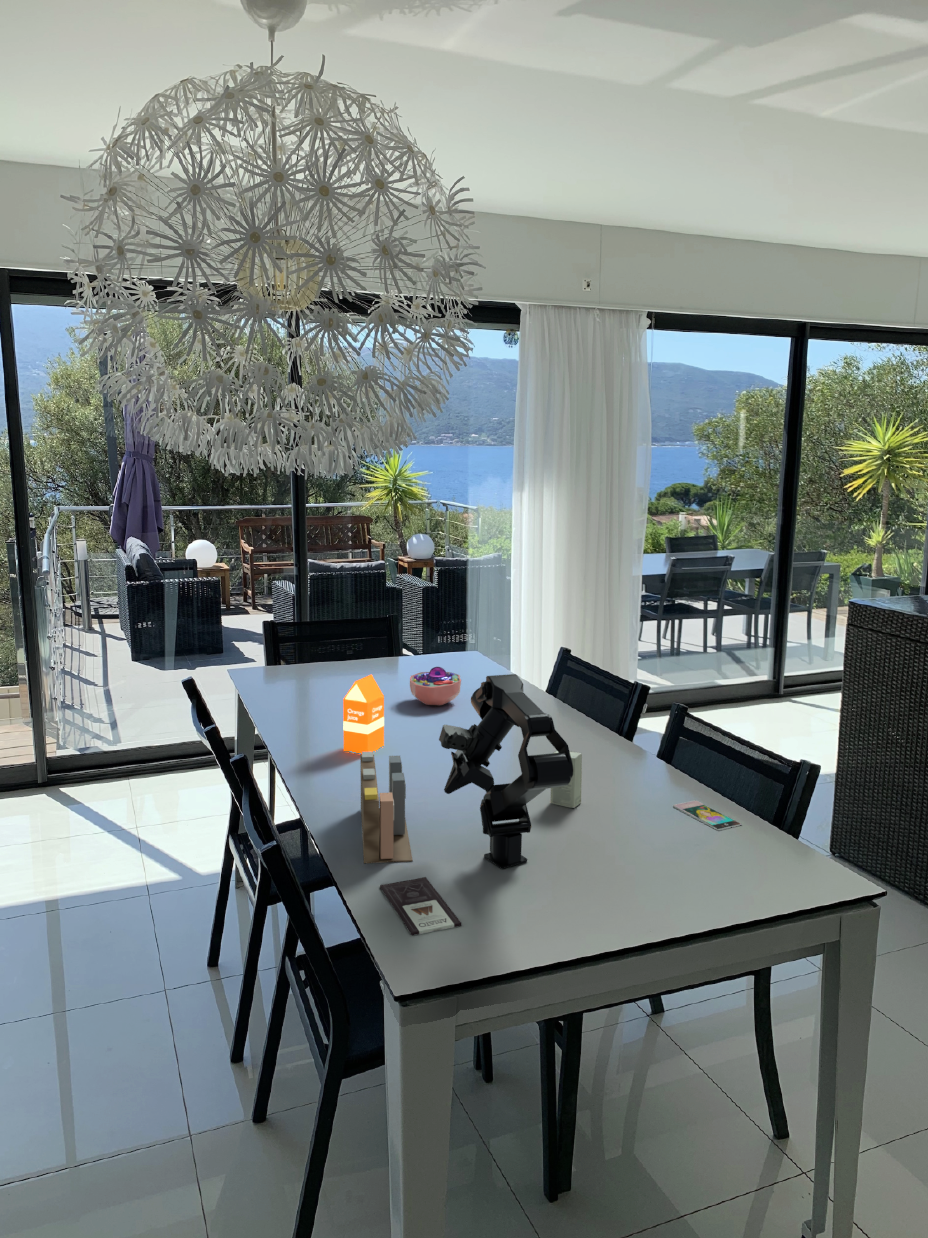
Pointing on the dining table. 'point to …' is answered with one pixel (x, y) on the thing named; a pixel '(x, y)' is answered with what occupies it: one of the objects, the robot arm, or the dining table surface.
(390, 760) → the key
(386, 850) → the terracotta key
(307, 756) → the dining table surface
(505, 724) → the robot arm
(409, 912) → the chocolate bar
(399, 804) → the middle slate key
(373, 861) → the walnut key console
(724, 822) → the smartphone
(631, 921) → the dining table surface
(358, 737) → the orange juice
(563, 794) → the skincare box
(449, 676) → the cell model
